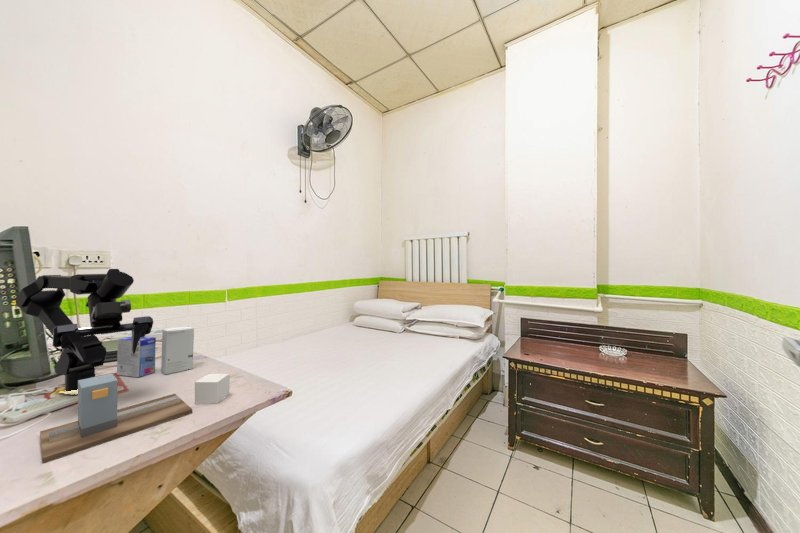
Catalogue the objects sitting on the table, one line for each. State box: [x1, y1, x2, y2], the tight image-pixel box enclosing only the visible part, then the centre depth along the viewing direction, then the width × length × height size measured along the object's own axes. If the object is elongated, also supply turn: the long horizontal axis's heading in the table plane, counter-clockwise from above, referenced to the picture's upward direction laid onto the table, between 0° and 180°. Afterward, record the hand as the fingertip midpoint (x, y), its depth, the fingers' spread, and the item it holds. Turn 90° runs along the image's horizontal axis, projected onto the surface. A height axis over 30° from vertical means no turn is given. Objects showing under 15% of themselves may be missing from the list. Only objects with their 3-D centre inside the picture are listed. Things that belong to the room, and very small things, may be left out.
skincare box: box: [160, 325, 195, 376], centre depth 103 cm, size 8×6×15 cm
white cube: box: [194, 373, 231, 405], centre depth 82 cm, size 6×6×6 cm
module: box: [77, 372, 118, 438], centre depth 65 cm, size 7×6×10 cm
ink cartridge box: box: [116, 336, 157, 378], centre depth 99 cm, size 10×6×14 cm, turn 78°
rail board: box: [39, 393, 193, 464], centre depth 69 cm, size 14×24×2 cm, turn 142°
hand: (110, 356), depth 75 cm, fingers open, 9 cm apart
